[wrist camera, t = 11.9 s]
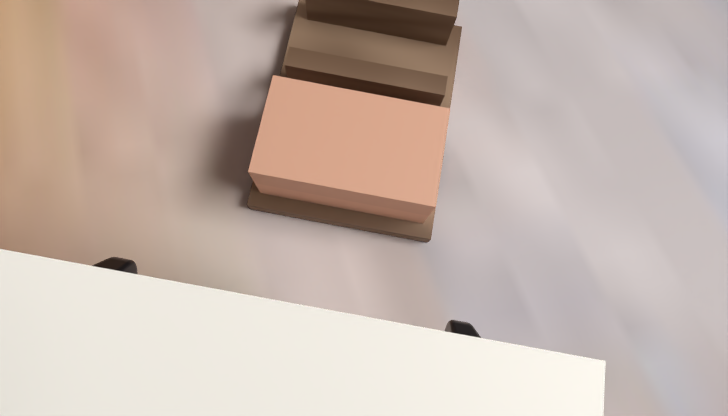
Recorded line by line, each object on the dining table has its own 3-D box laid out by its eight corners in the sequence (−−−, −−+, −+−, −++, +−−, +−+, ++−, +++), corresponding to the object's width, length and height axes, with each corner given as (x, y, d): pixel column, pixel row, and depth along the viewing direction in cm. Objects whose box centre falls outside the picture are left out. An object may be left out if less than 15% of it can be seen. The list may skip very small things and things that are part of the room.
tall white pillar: (388, 419, 14) (587, 790, 3) (197, 384, 14) (-394, 610, 3) (401, 337, 15) (605, 361, 3) (218, 303, 15) (-192, 213, 3)
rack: (427, 242, 23) (440, 229, 20) (249, 209, 23) (235, 190, 20) (458, 35, 26) (474, -4, 23) (301, 6, 26) (295, -37, 23)
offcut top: (428, 215, 21) (435, 207, 20) (254, 183, 21) (247, 171, 20) (442, 123, 22) (450, 108, 21) (277, 92, 22) (272, 74, 21)
